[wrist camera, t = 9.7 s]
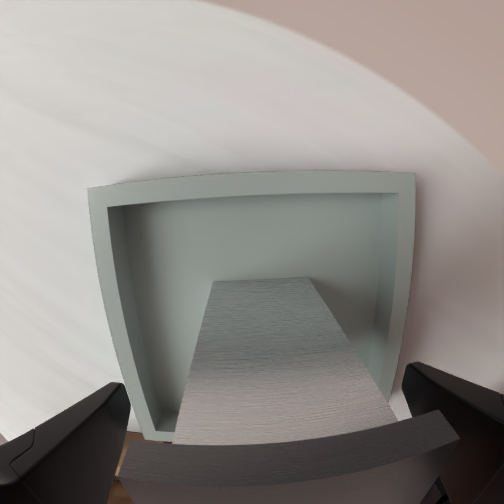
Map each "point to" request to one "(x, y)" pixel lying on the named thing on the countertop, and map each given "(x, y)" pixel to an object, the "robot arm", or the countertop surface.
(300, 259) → the tray
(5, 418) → the countertop surface
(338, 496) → the grey boxy piece
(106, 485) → the robot arm
